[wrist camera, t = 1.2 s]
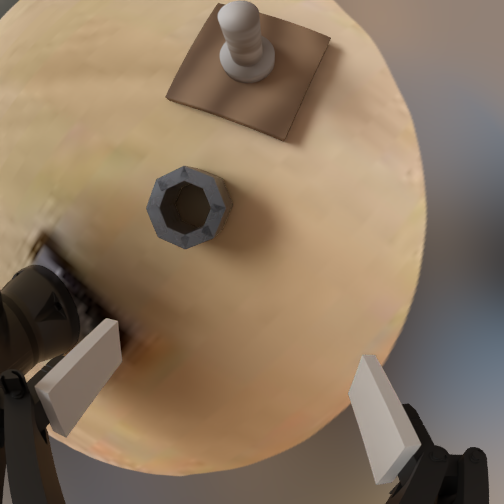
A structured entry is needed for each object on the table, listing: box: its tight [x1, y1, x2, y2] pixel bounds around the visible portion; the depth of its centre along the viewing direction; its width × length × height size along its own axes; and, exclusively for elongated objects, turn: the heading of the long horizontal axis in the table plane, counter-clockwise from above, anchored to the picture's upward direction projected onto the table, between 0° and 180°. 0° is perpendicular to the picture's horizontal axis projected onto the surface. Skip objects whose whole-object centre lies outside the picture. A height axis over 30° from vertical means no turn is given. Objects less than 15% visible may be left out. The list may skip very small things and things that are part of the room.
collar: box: [146, 166, 233, 249], centre depth 29 cm, size 7×7×5 cm
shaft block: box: [166, 1, 331, 142], centre depth 22 cm, size 14×14×12 cm
